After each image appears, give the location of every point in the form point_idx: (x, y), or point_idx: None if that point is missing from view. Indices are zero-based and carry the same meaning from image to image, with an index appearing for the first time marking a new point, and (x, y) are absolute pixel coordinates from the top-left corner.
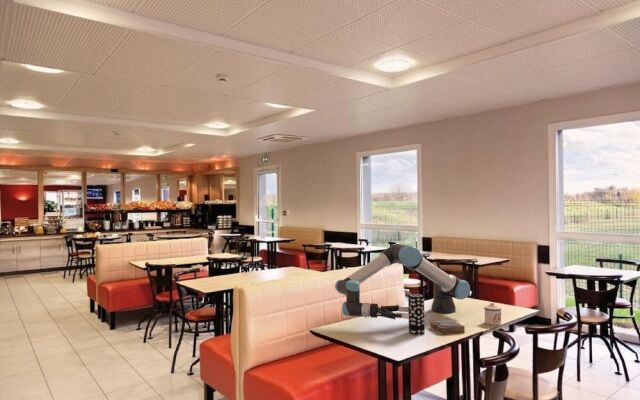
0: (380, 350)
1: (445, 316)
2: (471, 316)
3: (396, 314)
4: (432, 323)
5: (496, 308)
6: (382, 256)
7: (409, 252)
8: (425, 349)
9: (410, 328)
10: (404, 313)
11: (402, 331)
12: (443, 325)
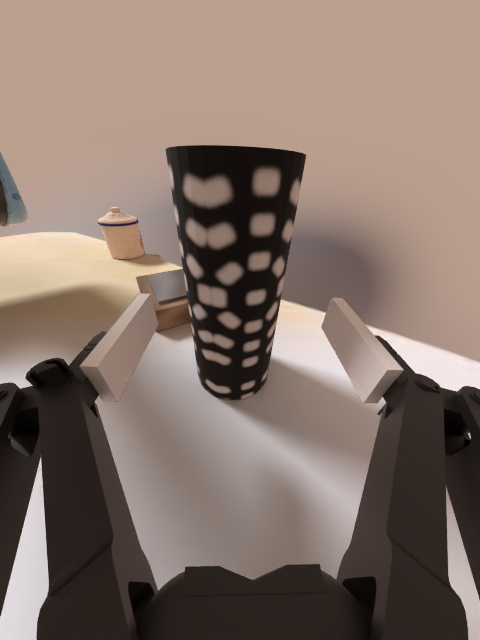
0: None
1: (11, 302)
2: (54, 268)
3: (410, 369)
4: (167, 310)
5: (134, 217)
6: None
7: None
8: (402, 338)
9: (261, 372)
10: (354, 314)
11: (221, 435)
12: None
